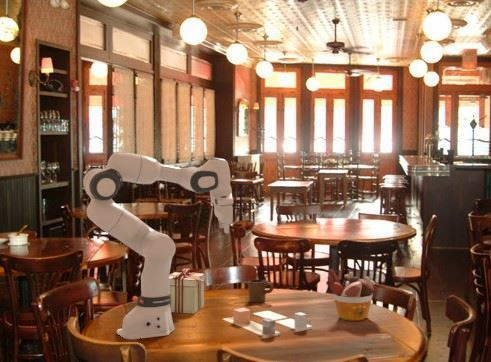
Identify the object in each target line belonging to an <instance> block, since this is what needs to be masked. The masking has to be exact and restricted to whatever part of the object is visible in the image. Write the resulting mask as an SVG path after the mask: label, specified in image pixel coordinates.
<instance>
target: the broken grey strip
mask: <svg viewBox="0 0 491 362" xmlns="http://www.w3.org/2000/svg"><path fill="white" fill-rule="evenodd" d="M253 315H255V316H258V317H261V318H262V319H267V318H270V319H273V320H275V323H278V325H279V324H280V325H281V326H282V325H283V326H285V327H288V328H290V331H291V332H293V333H294V332H295V333H297V332H302V331H308V330H312V329H313V325H311V324H310V325H309V324H308V323H307V322H308V317H307V316H308V315H307V313H304V312H301V311H299V312H295V313H294V319H293V318H288V316H285V315H282V314H280V313H276V312H274V311H270V310H263V311H257V312H253Z"/></svg>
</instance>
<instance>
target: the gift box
mask: <svg viewBox="0 0 491 362" xmlns="http://www.w3.org/2000/svg"><path fill="white" fill-rule="evenodd" d="M191 270H192V268H182V269H181V272H175V271H174V272H173V273H170V275H169V284H170V294H171V307H170V308H171V313H178V314H179V313H180V314H196V313H197V312H199V311H200V310H201V309H203V308H204V307H205V282H206V272H203V273H202V272H201V273H200V272H190V271H191Z"/></svg>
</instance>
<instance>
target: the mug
mask: <svg viewBox="0 0 491 362" xmlns="http://www.w3.org/2000/svg"><path fill="white" fill-rule="evenodd" d="M266 287H269V289H266ZM273 291H274V284H273V283H272V282H270V281H268V282H266V280H264V279H258V278H257V279H249V280H248V301H249V302H250V303H253V304H254V303H255V304H257V303H258V304H259V303H260V304H261V303H264V302H265V301H266V295H267V294H271V293H272V292H273Z"/></svg>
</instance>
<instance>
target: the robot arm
mask: <svg viewBox="0 0 491 362" xmlns="http://www.w3.org/2000/svg"><path fill="white" fill-rule="evenodd" d="M107 160H108V161H107V163H106V164H107V165H106V166H105V167H103V168H100V167H92V168H90V169H88V170H87V171H86V172H84V174H83V176H82V178H81V185H82V188H83V190H84V192H85V194H86V196H87V198H88V200H90V202H89V204H88V205H87V208H86V217H88V219H89V220H90V221H92V223H94V225H96V226H98V227H99V228H100V229H101V230H102V231H104V232H105V233H107V234H108V235H110V236H111V237H113V238H115V239H116V240H118V241H120V242H121V243H123V244H124V245H126V246H127V247H128V248H130V249H131V250H133V251H134V252H135V253H137V254H138V255H140V256H142V257H144V263H143V265H144V266H143V270H142V272H141V274H140V287H141V288H140V291H141V292H140V293H141V294H140V295H139V296H136V295H134V296H133V297H132V301H133V302H135V303H136V305H135V306H134V308H133V309H132V310H131V311H129V312H128V313H127V314H126V315H125V316H124V317H123V320H122V328H118V329H117V330H116V335H117V334H118V335H120V336H121V337H120V336H119V337H120V338H122V337H123V338H122V339H125V340H130V341H131V340H139V339H140V338H141V339H147V338H148V339H149V338H157V337H163V336H169V335H170V334H171V333H172V332H174V331H175V329H176V328H175V325H174V322H173V317H172V312H171V308H170V307H171V294H170V284H169V275H170V274H171V267H172V266H171V265H172V261H173V257H174V256H175V254H176V250H177V249H176V243H175V241H174V240H173V239H172V238H171V237H170V236H169V235H168V234H165V233H162V232H160V231H157V230H155V229H153V228H152V227H150V226H149V225H148V224H146V223H145V222H144V221H143V220H141V219H140V218H139V217H138V216H136V215H134V214H133V213H132V212H130V211H128V210H127V209H125V208H124V207H123V206H121V205H119V204H118V203H116V202H115V201H114V200H113V198H114V197H116V195H117V194H118V191H119V190H120V187H121V186H122V184H123V182H128V183H132V184H133V183H134V184H140V185H153V183H155V182H156V181H163V182H168V183H169V182H170V183H174V184H176V185H179V186H181V187H182V189H184V190H187V191H192V192H194V193H196V194H204V193H208V192H209V195H210V197H209V198H210V203H211V204H213V211H214V216H215V217H216V218H217V221H218V224H219V225H218V226H219V228H220V229H223V232H224V234H230V224H233V221H234V217H233V216H234V214H233V212H234V210H233V208H234V207H233V204H234V198H233V193H232V192H233V190H232V186H231V179H232V178H231V172H230V171H231V170H230V166H229V163H228V161H227V159H224V158H219V157H210V158H209V159H208V160H207V161H206V162H205V163H204V164H202V165H201V166H198V167H197V166H195V165H188V166H183V167H176V166H171V165H165V164H162V163H160V162H158V160H157V159H155V158H153V157H150V156H147V155H143V154H139V153H133V152H114V153H112V154H111V156H109V159H107ZM118 335H117V336H118Z"/></svg>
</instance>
